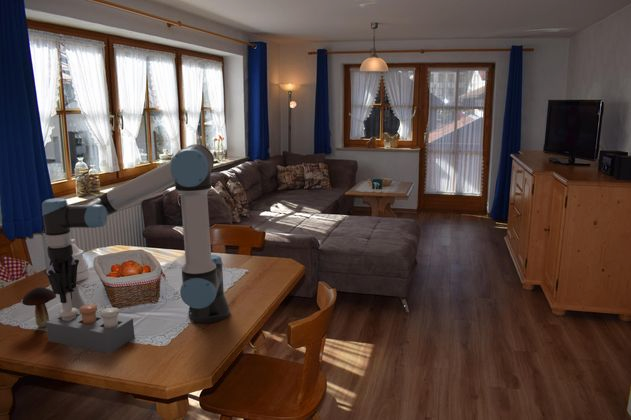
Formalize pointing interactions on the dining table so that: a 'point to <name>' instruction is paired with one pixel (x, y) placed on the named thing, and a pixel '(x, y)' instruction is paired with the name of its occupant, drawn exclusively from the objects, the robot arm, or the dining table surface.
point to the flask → (77, 298)
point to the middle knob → (88, 313)
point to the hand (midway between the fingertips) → (67, 310)
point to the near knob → (110, 317)
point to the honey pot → (80, 262)
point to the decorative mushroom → (39, 303)
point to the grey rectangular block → (90, 333)
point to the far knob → (68, 314)
